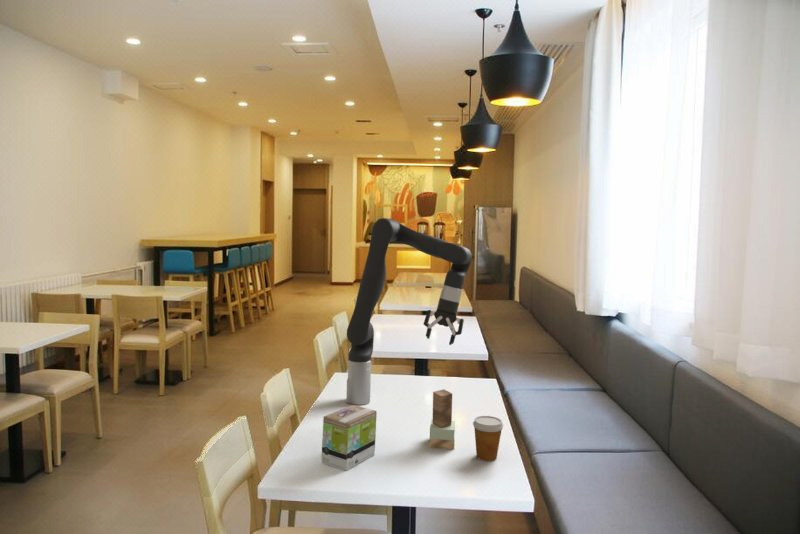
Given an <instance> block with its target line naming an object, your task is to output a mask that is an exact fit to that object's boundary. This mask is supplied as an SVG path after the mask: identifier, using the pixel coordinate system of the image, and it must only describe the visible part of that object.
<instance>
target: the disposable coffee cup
mask: <svg viewBox="0 0 800 534" xmlns="http://www.w3.org/2000/svg"><path fill="white" fill-rule="evenodd" d="M472 425H473V428H474V438H475V453H476V458H477V459H478V460H481V461H485V462H493V461H496V460H497V457H498V452H499V447H500V440H501V436H502V431H503V428H504V424H503V421H502V419H501V418H499V417H497V416H492V415H491V416H490V415H480V416H476V417H475V418H474V421H473V422H472ZM495 459H496V460H495ZM492 460H493V461H492Z"/></svg>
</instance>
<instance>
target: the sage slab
mask: <svg viewBox="0 0 800 534" xmlns="http://www.w3.org/2000/svg"><path fill="white" fill-rule="evenodd" d="M432 421H433V419H431V420H430V425H429V440H430V439H442V440H454V439H455V432H456V428H455V427H456V426H455V425H456V421H454V420H452V422H451V426H447V427H443V428H439V427H438V426H436V425H434V424H433V423H432Z"/></svg>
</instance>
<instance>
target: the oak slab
mask: <svg viewBox="0 0 800 534" xmlns="http://www.w3.org/2000/svg"><path fill="white" fill-rule="evenodd" d="M455 442H456V441H455V438H454V440H442V439H430V438H429V449H442V448H446V450H455Z"/></svg>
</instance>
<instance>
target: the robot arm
mask: <svg viewBox="0 0 800 534" xmlns="http://www.w3.org/2000/svg"><path fill="white" fill-rule="evenodd" d="M390 243H399V244H403V245H407V246H409V247H412V248H414V249H416V250H418V251H419V252H421V253H423V254H426V255H429V256H431V257H434V258H436V259H437V258H438V259H442V260H444V261H446V262H449V263H451V267H450V269H449V270H448V271H447V272H446V275H445V277H444V282H443V285H442V288H441V292H440V296H439V299H438V301H437V302H438V303H437V307H436V310H435V311H433V310H432V309H428V310H427V311H426V315H425V318H424V321H423V326H425V327H426V328H427V329H426V333H425V337H426V339H428V340H430V337H431V334H432V331H433V327H434V326H436V325H439V326H444V327H446V328H447V327H449V330H450V331H451V334H450V340H449V342H448V345H449V346H452V345H453V344H454V343H455V339H456V337H457V336H460V335H462V332H463V328H464V327H463V326H464V323H465V320H464V318H461V317H460V318H459V317H457V314H458V310H459V305H460V302H461V297H462V291H463V287H464V284H465V278H466V275H467V274H468V272H469V269H470V267H471V264H472V258H473V255H472V252H471V250H470V249H469V248H467V247H465V246H462V245H459V244H456V243H453V242H448V241H446V240H444V239H441V238H439V237H435V236H433V235H429V234H426V233H422V232H419V231H417V230H414V229H412V228H410V227H407V226H405V225H404V224H402V223H401V222H399V221H397V220H395V219H392V218H386V217H381V218H378V219H377V220H376V221H375V222H374V223H373V226H372V229H371V236H370V242H369V248H368V253H367V255H366V260H365V264H364V267H363V272H362V276H361V278H360V283H359V288H358V292H357V296H356V300H355V304H354V309H353V312H352V315H351V317H350V320H349V323H348V325H347V329H346V338H347V340H348V341H349V342H350V344H351V346H350V350H349V351H348V357H347V359H348V360H347V362H348V363H347V378H346V379H347V380H346V403H347V404H350V405H356V406H359V405H366V404H369V403H370V402H371V385H372V384H371V383H372V381H371V378H372V355H373V352H374V350H373V349H374V340H375V339H374V336H375V331H374V330H375V329H374V327H373V326H374V325H373V324H372V322H371V320H372V319H371V318H372V315H373V312H374V309H375V308H376V306H377V305H378V302H379V300H380V298H381V296H382V292H383V289H384V286H385V282H386V278H387V267H386V257H387V256H386V255H387V252H388V248H389V245H390ZM432 316H434V318H435V320H434V321H432V322H431V323H429V320H430V318H431V317H432ZM455 322H457V324H458V329H457V331H456V328H455V325H454V323H455Z"/></svg>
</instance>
